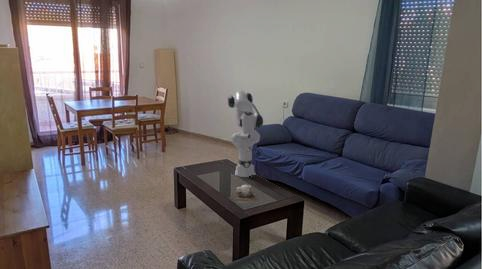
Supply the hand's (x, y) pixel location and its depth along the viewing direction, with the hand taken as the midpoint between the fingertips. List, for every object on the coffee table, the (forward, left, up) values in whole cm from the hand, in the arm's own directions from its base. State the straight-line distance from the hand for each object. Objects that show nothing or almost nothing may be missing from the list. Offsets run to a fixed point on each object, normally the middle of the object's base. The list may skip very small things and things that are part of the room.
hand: (248, 152), depth 251 cm
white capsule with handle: (+7, -4, -31) cm, 32 cm away
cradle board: (+8, -3, -32) cm, 33 cm away
